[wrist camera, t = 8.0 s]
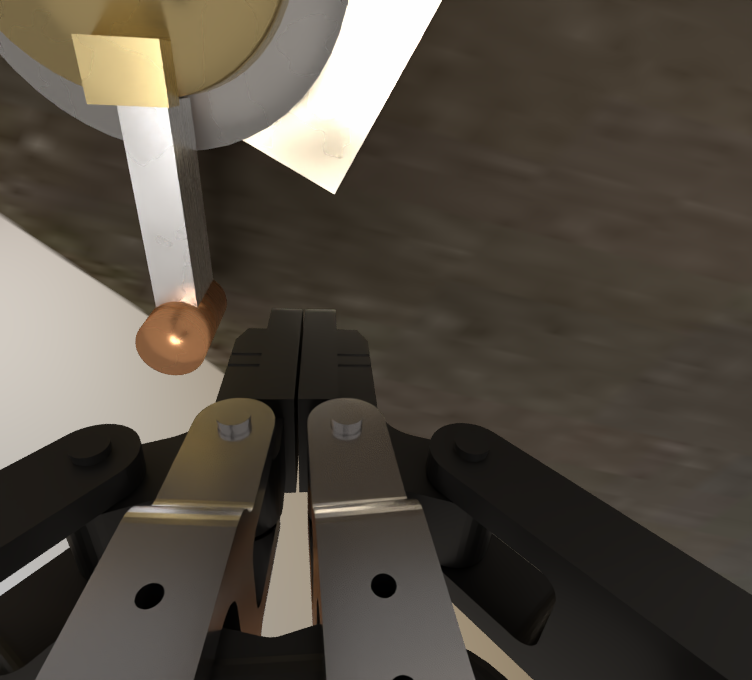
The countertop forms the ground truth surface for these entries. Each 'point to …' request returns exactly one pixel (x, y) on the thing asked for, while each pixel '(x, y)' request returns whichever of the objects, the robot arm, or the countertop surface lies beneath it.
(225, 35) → the yellow disc with lever
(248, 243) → the countertop surface
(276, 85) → the cap housing
